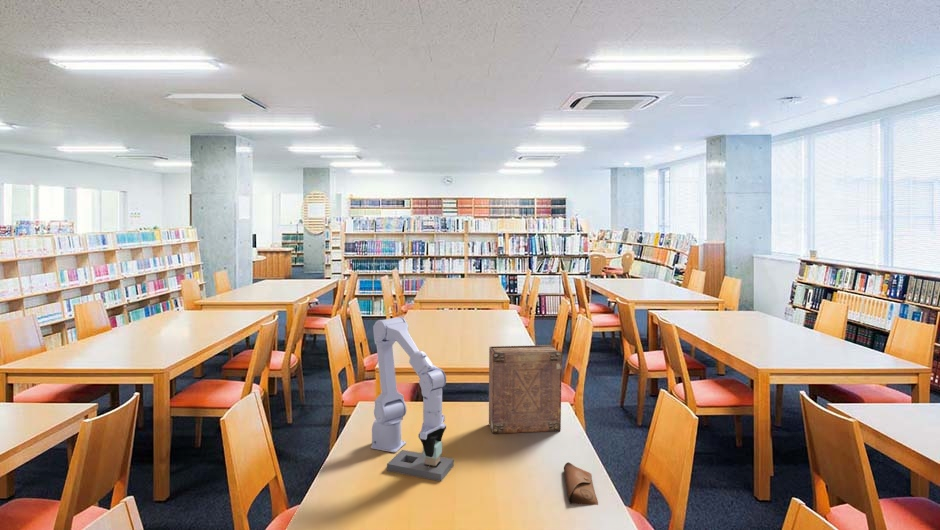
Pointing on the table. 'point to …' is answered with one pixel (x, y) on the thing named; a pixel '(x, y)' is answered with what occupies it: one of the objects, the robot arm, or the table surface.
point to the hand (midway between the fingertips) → (432, 452)
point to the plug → (434, 454)
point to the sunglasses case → (579, 486)
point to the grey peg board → (419, 466)
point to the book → (524, 389)
